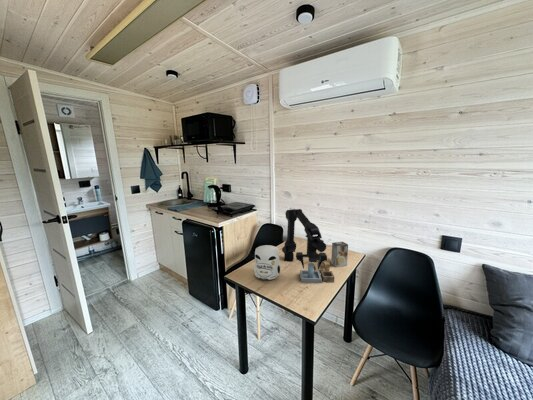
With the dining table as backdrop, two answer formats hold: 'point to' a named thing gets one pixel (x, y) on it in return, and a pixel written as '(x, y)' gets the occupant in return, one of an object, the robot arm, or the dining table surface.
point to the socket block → (327, 276)
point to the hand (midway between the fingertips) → (310, 268)
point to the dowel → (310, 270)
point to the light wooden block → (326, 266)
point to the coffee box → (339, 254)
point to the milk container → (267, 262)
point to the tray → (305, 278)
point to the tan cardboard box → (319, 268)
